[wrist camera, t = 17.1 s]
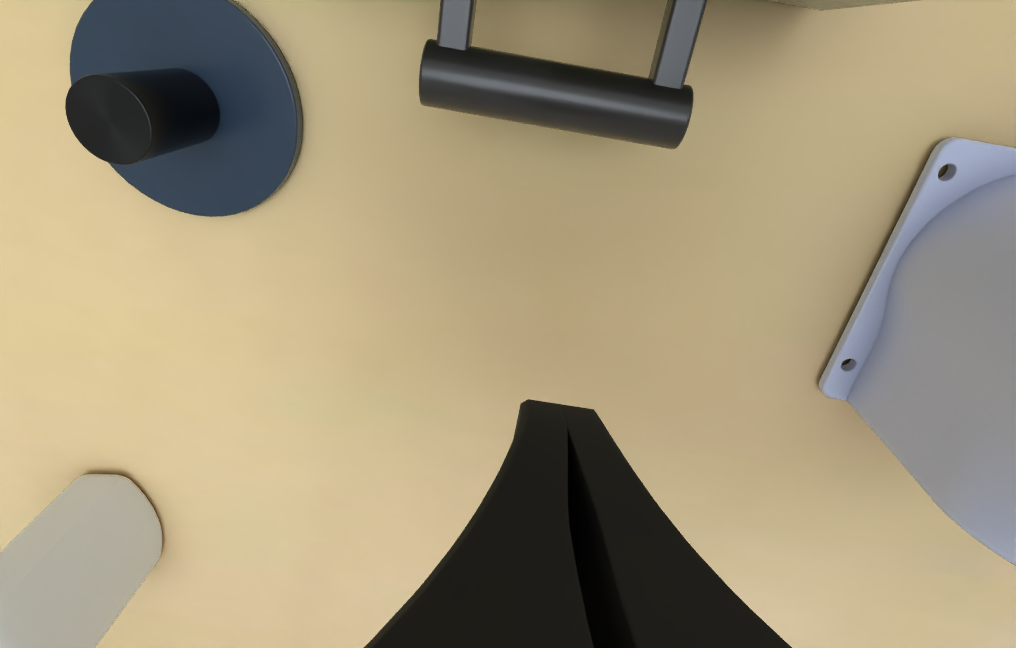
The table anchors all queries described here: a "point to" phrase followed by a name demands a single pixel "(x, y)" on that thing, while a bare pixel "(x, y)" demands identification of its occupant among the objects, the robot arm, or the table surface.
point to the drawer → (574, 79)
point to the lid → (185, 102)
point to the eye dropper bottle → (77, 564)
